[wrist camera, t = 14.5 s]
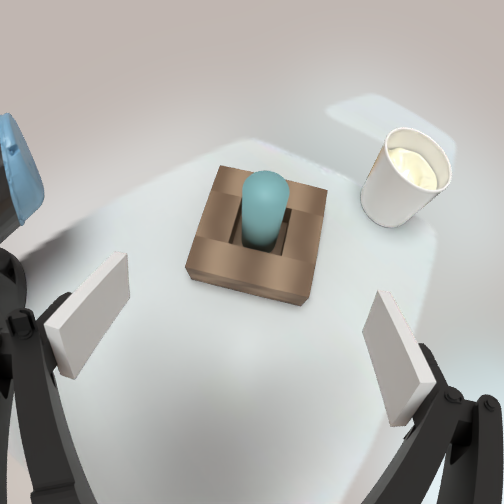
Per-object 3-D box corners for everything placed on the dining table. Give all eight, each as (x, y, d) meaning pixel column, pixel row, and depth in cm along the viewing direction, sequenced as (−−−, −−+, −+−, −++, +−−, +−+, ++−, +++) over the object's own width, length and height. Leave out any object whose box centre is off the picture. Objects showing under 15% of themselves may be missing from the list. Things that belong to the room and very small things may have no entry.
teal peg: (237, 251, 40) (237, 204, 29) (246, 220, 41) (248, 166, 30) (272, 259, 40) (284, 215, 28) (279, 228, 41) (293, 176, 30)
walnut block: (191, 279, 39) (184, 266, 35) (221, 185, 44) (219, 165, 40) (300, 305, 39) (309, 297, 34) (318, 208, 44) (327, 190, 39)
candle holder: (344, 182, 45) (370, 131, 34) (393, 171, 47) (425, 124, 35) (372, 241, 42) (411, 199, 31) (422, 223, 44) (464, 184, 32)
